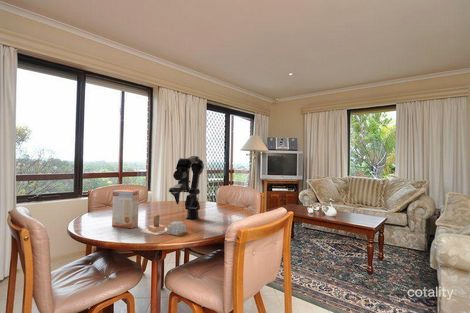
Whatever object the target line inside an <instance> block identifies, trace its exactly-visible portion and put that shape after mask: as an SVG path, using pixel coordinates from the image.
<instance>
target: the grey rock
mask: <svg viewBox="0 0 470 313" xmlns="http://www.w3.org/2000/svg"><path fill="white" fill-rule="evenodd" d="M166 228H167V232H166V234H168V235H173V236H180V235H182V234H185V233H186V228H187V225H186V224H184V222H183V221H178V220H175V221H172V222H169V225H167V226H166Z"/></svg>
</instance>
